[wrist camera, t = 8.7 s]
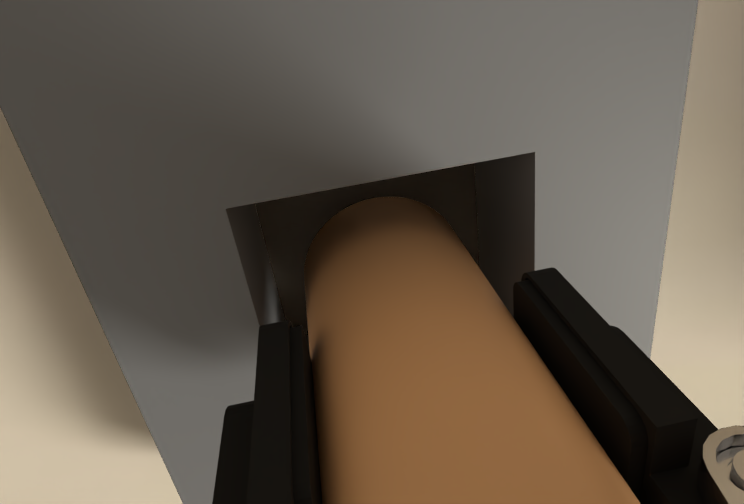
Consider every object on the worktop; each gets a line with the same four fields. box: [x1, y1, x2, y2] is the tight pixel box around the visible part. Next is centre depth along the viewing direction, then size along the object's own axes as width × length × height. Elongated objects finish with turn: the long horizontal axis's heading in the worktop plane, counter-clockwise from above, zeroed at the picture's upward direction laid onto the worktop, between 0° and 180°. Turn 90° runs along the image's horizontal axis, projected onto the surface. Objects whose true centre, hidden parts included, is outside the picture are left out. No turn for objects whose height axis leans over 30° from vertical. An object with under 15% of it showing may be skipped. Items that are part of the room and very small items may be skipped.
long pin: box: [304, 197, 641, 504], centre depth 8 cm, size 4×4×12 cm
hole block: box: [0, 0, 698, 504], centre depth 13 cm, size 15×12×4 cm
